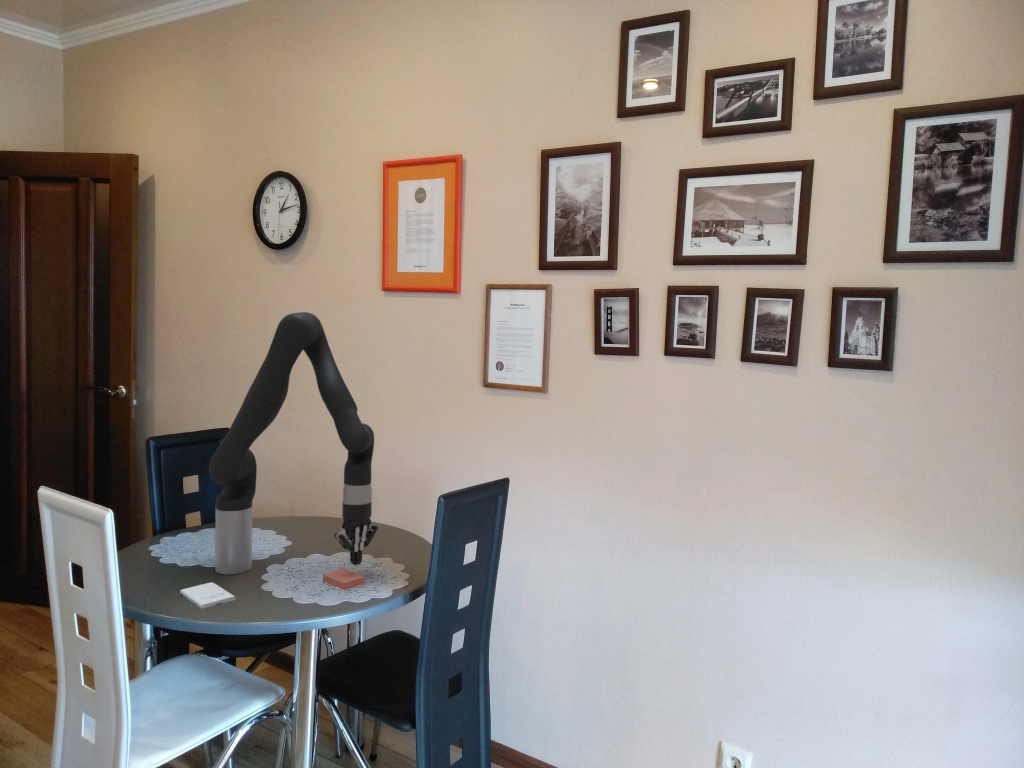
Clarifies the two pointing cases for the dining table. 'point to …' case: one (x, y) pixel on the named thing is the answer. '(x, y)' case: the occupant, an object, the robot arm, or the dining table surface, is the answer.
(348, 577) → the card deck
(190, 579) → the dining table surface
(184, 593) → the external hard drive
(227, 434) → the robot arm
